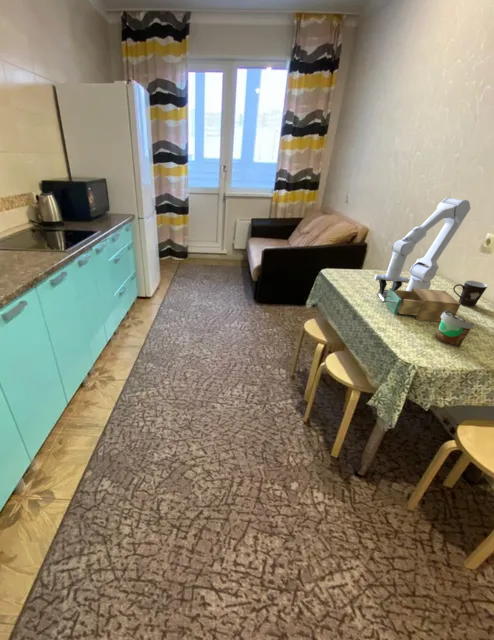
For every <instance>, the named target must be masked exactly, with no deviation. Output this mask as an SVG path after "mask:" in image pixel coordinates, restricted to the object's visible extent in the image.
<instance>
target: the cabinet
mask: <svg viewBox="0 0 494 640" xmlns="http://www.w3.org/2000/svg"><path fill="white" fill-rule="evenodd" d="M411 291H414V292H415V293H416V294H417V295H418V296H419V297H420V298H421V299H422V300H423V301H424V302H423V304H422V307H421V309H420V312H419V314H418V315H413V316H414V317H415V319H416V320H421V321H431V322H438V323H439V322H440V323H441V320H442V319H441V315H442V313H443V312H445V311H446V310H449V309H452V310H451V312H452V313H453V314H455V315H457V313H458V311H459V309H460V307H461V305H462V304H460V303H459V300H457V299H456V298H454V297H453V296H452V295H451V294H450V293H448V292H447V291H446V290H438V289H430V288H429V289H418V288H412V290H411Z"/></svg>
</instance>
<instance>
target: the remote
mask: <svg viewBox="0 0 494 640" xmlns="http://www.w3.org/2000/svg"><path fill="white" fill-rule="evenodd" d="M388 291H389V289H384V292H383V295H387V294H388ZM378 294H380V288H379V289H378V292H377V295H378ZM384 298H385V300H386V297H384Z"/></svg>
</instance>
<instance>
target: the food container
mask: <svg viewBox="0 0 494 640" xmlns="http://www.w3.org/2000/svg"><path fill="white" fill-rule="evenodd" d="M451 310H452V309H449V310H446V311H445V312H443V313H442V315H441V319H442V320H441V322H440V323H439V326H438V328H437V331H436V334H435V339H437V340H438V341H439V342H441V343H443V344H446V345H448V346H454V347H461V345H462V343H464V340H465V339H466V337H467V336H468V334H469V333H470V331H471V330H473V329H474V326H475V322H468V321H467V320H466V319H464V317H462V316H460V315H457V314H456V315H455V314H453V313H452V312H451Z"/></svg>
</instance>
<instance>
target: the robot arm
mask: <svg viewBox="0 0 494 640" xmlns="http://www.w3.org/2000/svg"><path fill="white" fill-rule="evenodd" d="M470 210H471V203H470V200H467V199H459V198H452V197H449V196H448V197H445V198H444V199H443V200H442V201H441V202H440V203H438V204H437V207H436V209H435V211H434V212H433V213H431V215H430V216H429V217H428V218H427V219H426V220H425V221H424V222H423V223H422V224H421V225H419V226H415V227H413V228H412V229H411V230H410V231H409V232H408V233H407V234H406V235H405V236H404V237H403V238H402V239H398V240H397V241H395V242H394V244H393V245H391V251H392V253H391V258H390V261H389V264H388V267H387V269H386V270H387V271H386V274H375V275H374V279H373V280H374V281H378V282H379V283H378V284H379V289H380V294H382V295H383V292H384V290H386V288H387V285H388V283H387V282H392V286H391V288H392V289H393V290H394V291H395V290H400V288H401V287H402V286H403V283H404V284H408V285H407V288H406V290H405V291H411V290H412V288H418V289H429V290H430V288H431V284H432V283H431V281H432V280H433V279H434V278H435V277H436V275H437V271H438V269H440V268H439V265H438V263H437V262H438V261H439V258H440V257H441V256H442V254H443V253H444V251H445V249H446V248H447V246H448V245H449V243H450V242H451V240H452V238H453V237H454V235H455V234H456V232H457V231H458V229H459V228H460V226H461V225H462V223H463V221H464V220H465V219H466V217H467V215H468V213H469V212H470ZM443 219H444V221H445V223H444V225H443V227H442V228H441V230H440V231H439V233H438V234H437V236H436V238H435V239H434V241H433V242H432V244H431V246H430V247H429V248H428V250H427V252H426V254H425V255H424V257H423V256H422V257H421V258H418V259H417V260H416V261H415V263H413V264H412V265H411V267H410V269H409V275H410V278H409V277H403V276H401V274H402V271H403V269H404V266H405V263H406V260H407V258H408V255H410V254H412V253H413V252H414V251H413V250H414V249H415V247H416V245H417V244H419V242H421V241H422V240H423V239H425V237H426V236H427V232H428V231H430V230H431V228H433V227H435V225H437V224H438V223H440V222H441V221H442V220H443Z"/></svg>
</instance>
